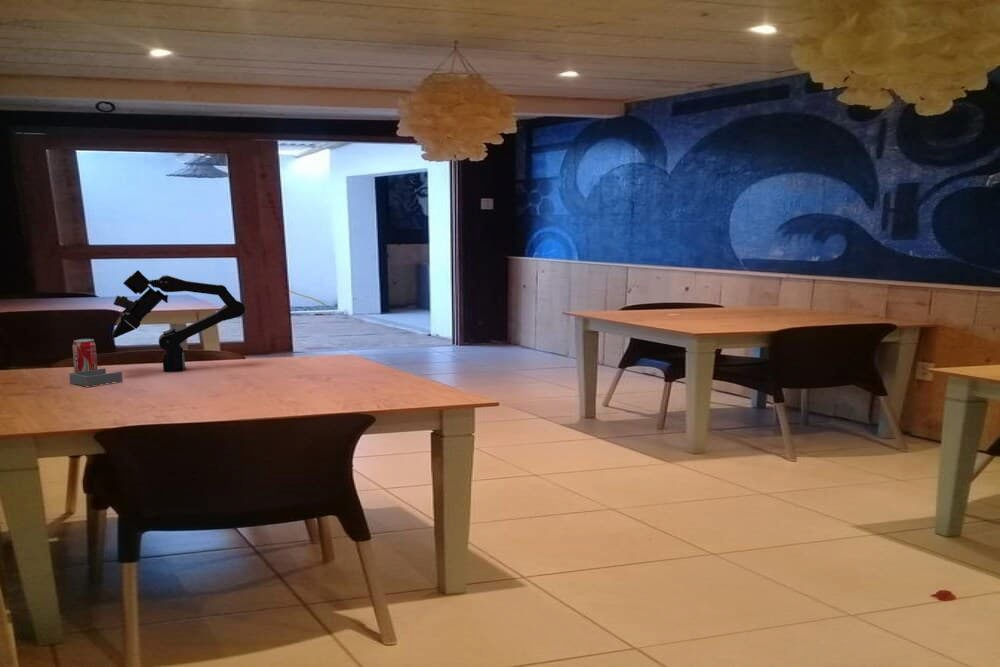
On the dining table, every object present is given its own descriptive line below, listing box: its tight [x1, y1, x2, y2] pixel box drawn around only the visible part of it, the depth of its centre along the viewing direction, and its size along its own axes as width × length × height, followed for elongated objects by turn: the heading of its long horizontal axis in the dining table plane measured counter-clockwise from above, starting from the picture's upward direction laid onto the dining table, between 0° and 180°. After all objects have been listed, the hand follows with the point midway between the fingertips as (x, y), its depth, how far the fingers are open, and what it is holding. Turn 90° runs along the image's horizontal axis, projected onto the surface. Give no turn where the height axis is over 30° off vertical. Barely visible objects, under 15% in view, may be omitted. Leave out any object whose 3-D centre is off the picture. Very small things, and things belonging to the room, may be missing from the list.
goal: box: [69, 367, 123, 387], centre depth 257 cm, size 12×12×3 cm
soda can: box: [72, 338, 98, 373], centre depth 266 cm, size 7×7×13 cm
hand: (113, 335), depth 270 cm, fingers open, 9 cm apart
